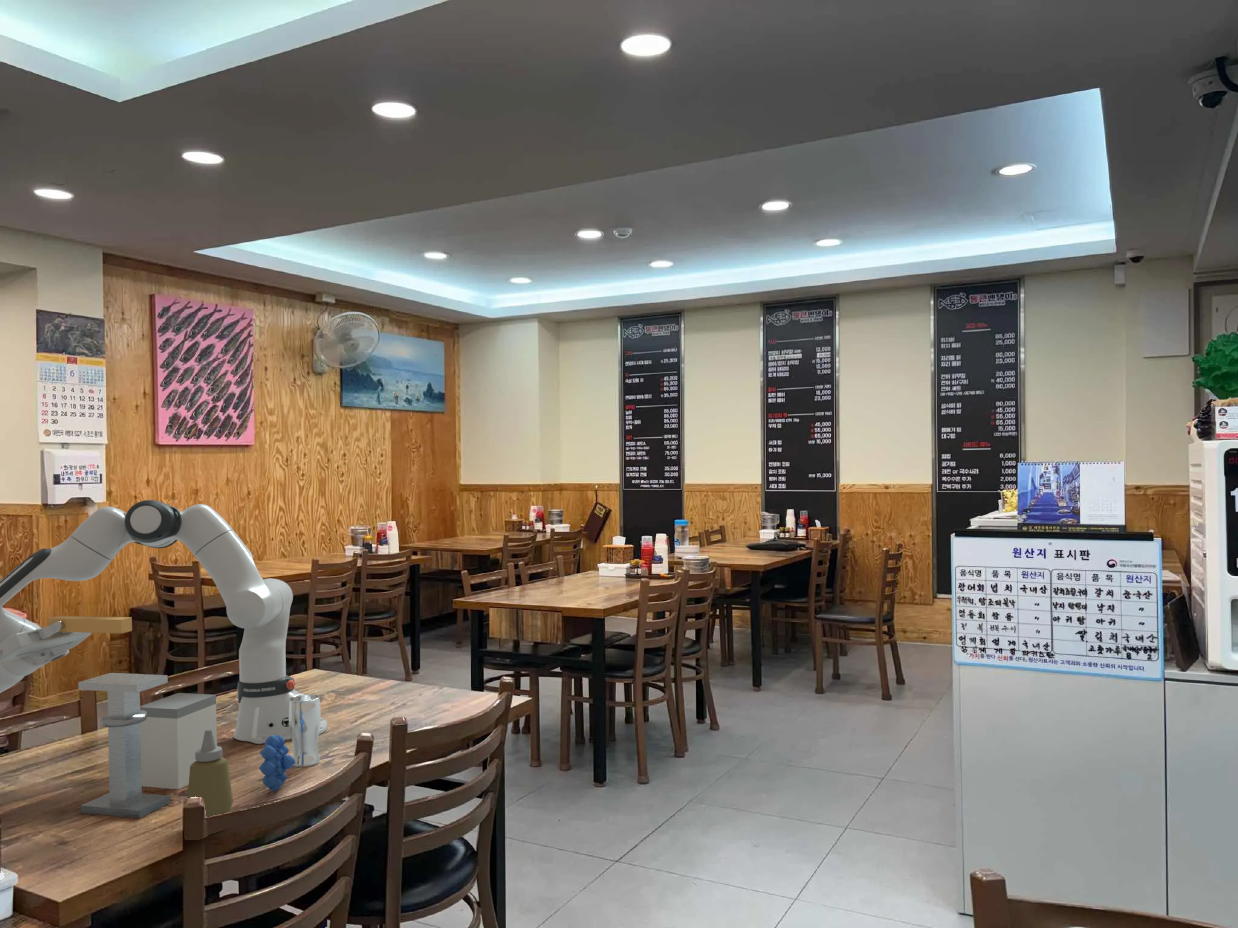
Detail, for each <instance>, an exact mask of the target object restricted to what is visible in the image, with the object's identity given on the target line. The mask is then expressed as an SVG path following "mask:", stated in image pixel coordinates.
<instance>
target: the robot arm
mask: <svg viewBox="0 0 1238 928" xmlns="http://www.w3.org/2000/svg"><path fill="white" fill-rule="evenodd" d="M178 541H180V542H181V543H183V544H184V545H185V546H186V547H187V548H188V550H189V551H190V552H191V554H192V555H193V556H194V557H195V558H196V560H197V561H198V562H199V564H200V565H201V566H202V568H203V569H204V570H205V571H206V573H207V574H208V575H209V576H210V578H211V579H212V581H213V582H214V584H215V586H216V588H217V589H218V592H219V594H220V597H221V598H222V600H223V602H224V605H225V609H226V615H227V618H228V619H229V621H230V623H231V624H233V625H234V626H236V627H238V628H241V629H244V631H243V637H242V640H241V643H240V647H239V649H238V661H239V663H238V665H239V666H238V667H239V679H238V681H237V701H238V713H237V721H236V726H235V731H234V734H233V738H234V739H235V740H237V741H241V742H250V743H253V744H258V745H261V744H265V741H266V740H267V738H268V737H270V736H272V735H274V736H275V735H280V736H282V737H283V739H284V740H285V741H287V740H292V737H291V733H290V727H289V699H290V698H291V697H294V696H297V695H303V693H301V692H299V691H297V690H296V689H295V687H296V686H295V685H296V682H295V678H294V676H293V675H292V676H290V675H287V673H286V672H287V669H286V668H287V662H286V658H287V657H286V644H287V635H288V629H289V624H290V623H289V620H290V614H291V613H290V612H291V606H292V603H293V600H294V594H293V590H292V588H291V586H290V585H289V584H288V583H286V582H285V581H283V580H281V579H278V578H271V577H269V578H263V577H262V576H261V574H260V572H259V570H258V568H257V565H256V563H255V561H254V555H253V554H252V552H251V551H250V550H249V548H248V547H247V546H246V544H245V543H244V541H243V540H242V539H241V538H240V536H239V535H238V534H237V533H236V532H235V530H234V529H233V528H232V526H231V525H230V524H229V523H228V522H227V521H226V520H225V519H224V518H223V516H221V515H220V514H219V513H218V512H217V511H216V510H214V508H212V507H211V506H210V505H207V504H205V503H199V504H194V505H191V506H188V507H187V508H185V509H183V510H181V511H180V510H179V509H178V508H177V507H174V506H172V505H169V504H167V503H165V502H162V501H160V500H155V499H146V500H140V501H138V502H136V503H134V504H132V506H131V507H129V509H128V510H127V512H126V511H124V510H122V509H119V508H118V507H114V506H107V505H106V506H102V507H99V508H98V509H96V510H95V511H94V512H93V513H91V514H90V515H89V516H87V518H85V519H84V520H83V522H81V523H80V524H79V525H78V526H77V528H76V529H75V530H74V531H73V532H72V533H71V534H70V535H69V537H67V538H66V539H65V540H64V541H63V542H61V543H60V544H58V545H56V546H54V547H51V548H41V549H39V550H37V551H35V552H34V553H32V554H31V555H29V556H28V557H26V558H25V560H23V561H21V563H19V564H18V565H17V566H16V567H14V568H13V569H12V570H11V571H10V572H9V573H7V574H6V575H5V576H4V577H2V578H1V579H0V694H1V693H3V692H5V691H6V690H8V689H10V688H12V687H13V686H14V685H17V684H18V683H19V682H21V681H22V680H23V679H24V677H25V676H28V675H31V674H32V673H34V672H35V671H37V670H38V669H39V668H43V667H44V666H45V665H47V664H48V663H50V662H53V661H56V660H59V659H60V658H63V657H66V656H67V655H68V654H70V650H71V649H73V648H75V647H76V646H78V645H79V644H81V643H82V642H84V641H85V640H86V639H87V638H89V636H91V634H92V633H84V632H57V631H61V630H62V629H64V628H65V624H64V622H63V621H58V622H55V623H54V624H52V625H50V626H48V627H47V626H45V627H41V626H39V625H38V624H36V623H34V622H33V621H31V620H28V619H27V618H25V617H21V616H19V615H18V614H15V613H14V612H12V611H9V610H7V609H5V608H3V606H4V605H5V604H7V602H9V601H10V600H11V599H12V598H13V597H14V596H16V595H17V594H18V593H19V592H21V590H23V589H24V588H25V587H26V586H28V584H30V583H31V582H33V581H37V580H39V579H54V580H55V579H56V580H62V581H69V582H70V581H71V582H82V581H83V582H85V581H88V580H91V579H94V578H96V577H98V576H99V575H100V574H101V573H102V572H103V571H104V570H105V569H106V568H107V567H108V566H109V565H110V563H112V561H113V560H114V559H115V558H116V556H117V555H118V554H119V553H120V552H121V551H122V549H123V548H125V546H127V545H129V544H131V543H134V544H138V545H141V546H145V547H148V548H153V549H165V548H168V547H170V546H173V545H174V544H175V543H177V542H178ZM327 729H328V722H327V719H326V718H323V717H321V722H320V730H319V735H321V734H323V733H324V732H325V731H326V730H327Z"/></svg>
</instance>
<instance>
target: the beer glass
mask: <svg viewBox="0 0 1238 928" xmlns="http://www.w3.org/2000/svg"><path fill="white" fill-rule="evenodd" d="M321 711H322V710H321V702H320V695H319V694H315V693H314V694H313V693H307V694H305V693H304V694H303V693H302V695H297V696H294V697H291V698H290V699H289V727H290V733H291V737H292V739H291V741H292V757H293V759H294V760H295V764H294V765H293V766H292V767H295V768H307V767H312V766H315V765H317V764H319V763H320V762H321V761H320V759H321V758H320V754H319V749H318V744H319V735H320V734H319V730H320V722H321V718H322V717H321V716H322V712H321Z"/></svg>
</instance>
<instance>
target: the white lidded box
mask: <svg viewBox="0 0 1238 928" xmlns="http://www.w3.org/2000/svg"><path fill="white" fill-rule="evenodd" d="M140 710H143V711H146V712H147V719H146V720H145V721H143V722H141V723H140V728H141V777H142V787H143V788H144V787H147V788H160V789H169V790H181V789H182V788H184V787H186V786H188V785H189V774H190V766H191V764H192V763H193V762H195V761H196V760H195V752H196V750H198V749H200V748H202V743H203V738H204V733H205V730H212V733H213V737H214V740H215V744H216V746H218V734H217V731H218V730H217V729H218V728H217V727H218V726H217V722H218V721H217V694H206V693H186V692H178V693H175V694H172V695H169V696H165V697H163V698H160V699H156V700H154V701H152V702H149V703H146V704H143V705H140Z"/></svg>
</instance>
